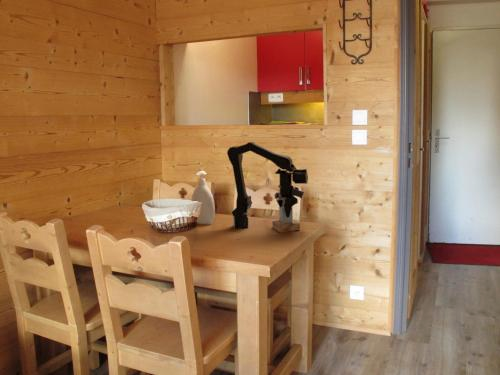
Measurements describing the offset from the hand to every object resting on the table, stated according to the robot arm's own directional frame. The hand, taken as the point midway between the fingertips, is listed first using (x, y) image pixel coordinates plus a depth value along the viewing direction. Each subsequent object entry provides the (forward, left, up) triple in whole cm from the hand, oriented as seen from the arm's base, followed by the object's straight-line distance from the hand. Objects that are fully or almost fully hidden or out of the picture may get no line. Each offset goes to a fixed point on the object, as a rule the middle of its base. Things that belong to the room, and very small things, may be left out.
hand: (285, 215), depth 237 cm
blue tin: (0, 0, -3) cm, 3 cm away
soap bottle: (-37, +25, -7) cm, 45 cm away
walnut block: (0, 0, -7) cm, 7 cm away
